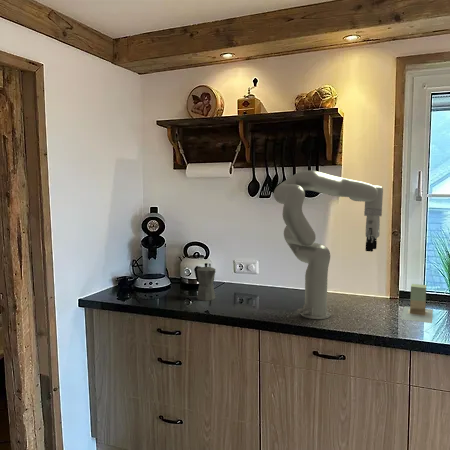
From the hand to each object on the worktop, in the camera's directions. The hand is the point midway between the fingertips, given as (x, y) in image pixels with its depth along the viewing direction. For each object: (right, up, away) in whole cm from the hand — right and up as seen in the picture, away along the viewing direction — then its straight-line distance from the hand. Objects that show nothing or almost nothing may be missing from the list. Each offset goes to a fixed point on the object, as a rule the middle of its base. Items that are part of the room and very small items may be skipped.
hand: (371, 250), depth 202 cm
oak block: (+19, -27, -6) cm, 34 cm away
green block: (+19, -21, -7) cm, 29 cm away
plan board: (+17, -28, -9) cm, 34 cm away
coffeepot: (-77, -26, +20) cm, 84 cm away
